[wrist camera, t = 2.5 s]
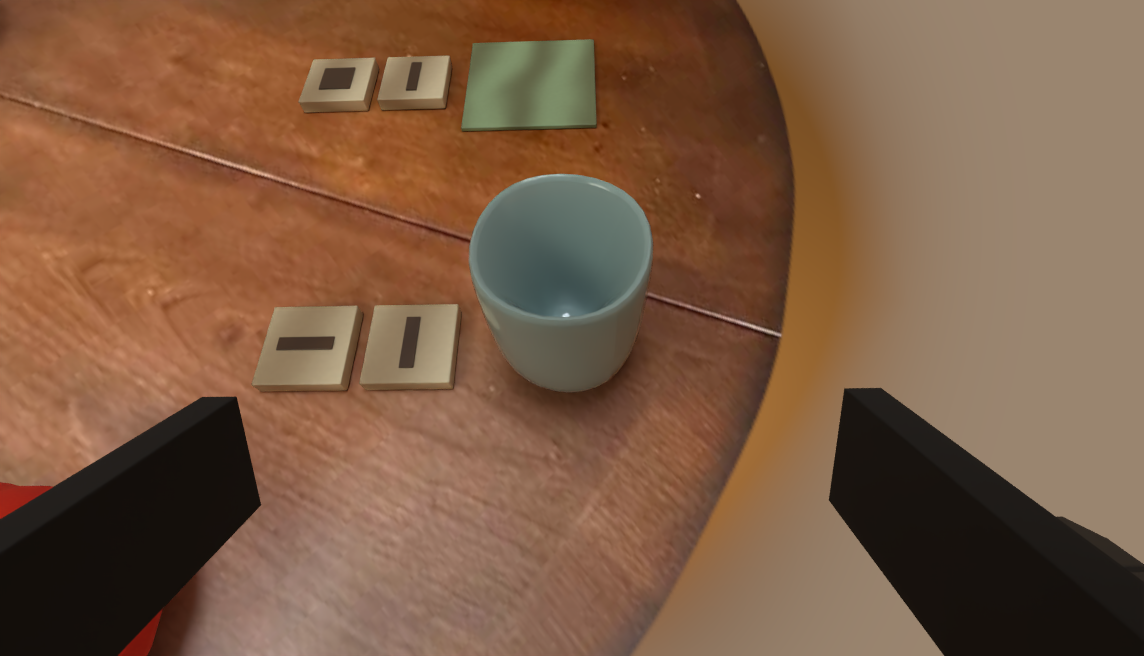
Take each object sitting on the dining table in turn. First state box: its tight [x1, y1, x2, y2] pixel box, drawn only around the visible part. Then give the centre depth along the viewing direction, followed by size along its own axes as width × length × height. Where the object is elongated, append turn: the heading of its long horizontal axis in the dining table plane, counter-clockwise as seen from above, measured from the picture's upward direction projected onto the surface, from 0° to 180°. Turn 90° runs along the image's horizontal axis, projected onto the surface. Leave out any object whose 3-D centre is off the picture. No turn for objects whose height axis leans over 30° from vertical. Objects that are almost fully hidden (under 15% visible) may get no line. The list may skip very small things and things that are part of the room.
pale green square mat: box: [299, 40, 596, 131], centre depth 41 cm, size 22×10×1 cm, turn 90°
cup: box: [469, 174, 653, 393], centre depth 26 cm, size 8×8×10 cm
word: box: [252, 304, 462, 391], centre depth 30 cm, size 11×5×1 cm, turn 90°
